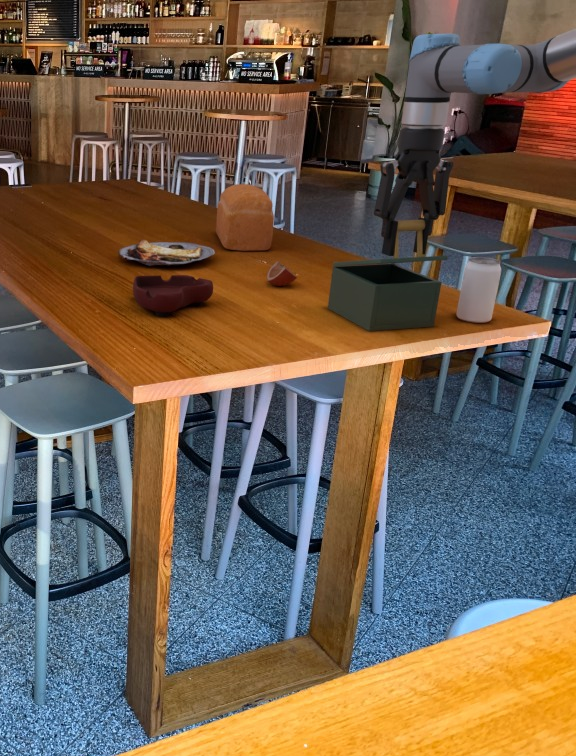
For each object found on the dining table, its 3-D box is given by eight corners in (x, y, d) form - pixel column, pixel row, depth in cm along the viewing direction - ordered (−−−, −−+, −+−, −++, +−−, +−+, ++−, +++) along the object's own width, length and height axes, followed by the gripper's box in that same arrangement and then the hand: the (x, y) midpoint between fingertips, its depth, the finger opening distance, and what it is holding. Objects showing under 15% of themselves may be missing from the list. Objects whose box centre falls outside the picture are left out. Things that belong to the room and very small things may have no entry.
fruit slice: (262, 280, 189) (264, 259, 187) (291, 280, 189) (293, 260, 187) (269, 289, 181) (271, 268, 180) (299, 289, 181) (301, 268, 179)
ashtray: (160, 290, 181) (161, 268, 179) (219, 303, 170) (220, 281, 169) (107, 305, 170) (107, 282, 168) (166, 321, 159) (168, 297, 157)
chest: (433, 326, 155) (441, 282, 152) (369, 331, 152) (375, 285, 149) (387, 304, 170) (393, 263, 166) (327, 308, 167) (332, 266, 164)
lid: (447, 259, 150) (447, 217, 149) (380, 263, 147) (380, 220, 146) (394, 263, 166) (393, 225, 165) (332, 266, 164) (332, 228, 163)
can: (492, 317, 161) (504, 259, 156) (489, 325, 156) (501, 265, 151) (458, 312, 164) (468, 255, 159) (453, 320, 159) (464, 261, 154)
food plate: (103, 263, 206) (103, 249, 205) (140, 246, 225) (141, 234, 224) (194, 274, 195) (195, 260, 194) (225, 255, 214) (226, 242, 212)
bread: (222, 251, 219) (226, 193, 213) (214, 232, 243) (217, 180, 238) (273, 252, 218) (278, 193, 212) (259, 233, 242) (264, 180, 236)
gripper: (455, 125, 148) (435, 247, 157) (363, 126, 145) (347, 252, 153) (483, 127, 141) (460, 255, 150) (386, 129, 138) (368, 260, 146)
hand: (403, 253), depth 151 cm, fingers closed on lid, 6 cm apart
